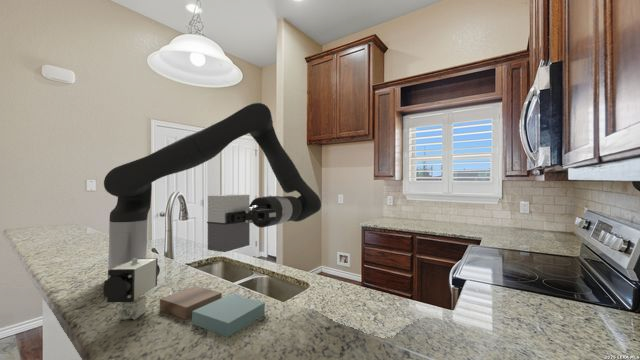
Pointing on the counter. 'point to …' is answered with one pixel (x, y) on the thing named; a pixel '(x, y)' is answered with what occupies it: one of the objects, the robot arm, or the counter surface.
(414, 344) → the counter surface
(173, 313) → the stand
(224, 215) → the block
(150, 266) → the pneumatic valve
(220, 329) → the stand
